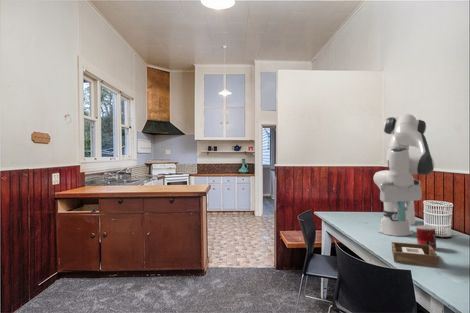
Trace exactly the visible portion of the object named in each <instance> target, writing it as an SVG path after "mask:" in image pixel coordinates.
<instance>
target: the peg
mask: <svg viewBox="0 0 470 313" xmlns="http://www.w3.org/2000/svg"><path fill="white" fill-rule="evenodd" d="M397 206H398V207H400V211H397V218H398V221H405V201H400V202H398V204H397Z"/></svg>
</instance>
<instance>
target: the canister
mask: <svg viewBox="0 0 470 313" xmlns="http://www.w3.org/2000/svg"><path fill="white" fill-rule="evenodd" d="M405 212H406V219H408V220H409V226H414V225H415V224H416V218H415V217H416V216H415V215H416V214H415V201H410V205H409V207H408V211H405Z"/></svg>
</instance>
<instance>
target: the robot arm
mask: <svg viewBox="0 0 470 313" xmlns="http://www.w3.org/2000/svg"><path fill="white" fill-rule="evenodd" d="M426 124H427V123H426V122H425V121H424V120H422V119H417V118H416V117H415V116H414V115H413V114H409V113H408V114H407V113H406V114H402V115H401V116H399V117H394V116H393V117H391V116H390V117H387V118H386V120H384V123H383V125H382V126H383V128H382V129H383V132H384V133H385V134H388V135H392V136H391V138H390V141H389V143H388V148H387V153H386V158H385V160H386V162H387V169H388V170H387V169H385V170H379V171H376V172H375V173H374V175H373V178H372V179H373V182H374V184H375V185H376V186H377V187H378V189H379V192H380V193H379V200H380V201H381V203H383V211H382V213H383V217H382V218H381V219H380V228H379V229H378V231H377V232H378V233H381V234H385V235H388V236H395V237H407V236H412V235H414V234H415V233H414V232H413V231H412V230H411V228H410V226H411V225H409V220H408V219H406V212H405V221H398V218H397V211H400V207H398V206H397V204H398V202H400V201H405V211H408V207H409V205H410V201H414V202H415V201H421V200H422V197H423V196H422V195H423V193H422V187H421V184H422V183H421V180H418V179H416V178H414V176H413V175H421V176H422V175H423V176H428V175H429V174H431V173H432V172H433V171H434V169H435V161H434V159H433V157H432V155H431V152H430V148H429V144H428V142H427V138H426V136H425V133H426V130H427V125H426ZM410 147H415V148H417V149H418V150H419V153H418V154H410V153H409V150H410Z"/></svg>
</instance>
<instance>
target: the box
mask: <svg viewBox="0 0 470 313" xmlns="http://www.w3.org/2000/svg"><path fill="white" fill-rule="evenodd" d="M402 247H408V248H419V249H422V250H423V252H424V254H416V253H406V252H402ZM391 253H392V259H393V261H394V263H399V264H408V265H409V264H410V265H418V266H425V267H427V266H428V267H435V268H439V256H438V254H437V253H436V250H433V248H432V247H431V245H423V244H417V243H409V242H408V243H407V242H397V241H391Z"/></svg>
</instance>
